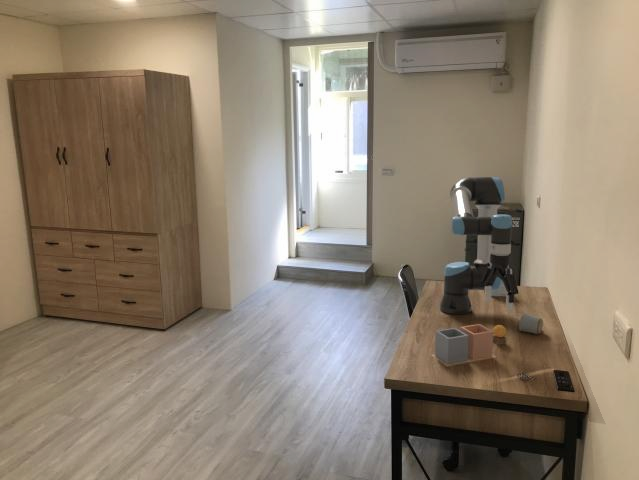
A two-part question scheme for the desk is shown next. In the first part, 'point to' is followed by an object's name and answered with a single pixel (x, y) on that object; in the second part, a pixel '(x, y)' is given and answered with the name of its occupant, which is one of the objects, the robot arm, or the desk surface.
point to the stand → (499, 340)
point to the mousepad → (526, 377)
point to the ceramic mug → (530, 324)
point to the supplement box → (500, 290)
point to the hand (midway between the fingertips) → (498, 305)
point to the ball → (499, 331)
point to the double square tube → (463, 345)
